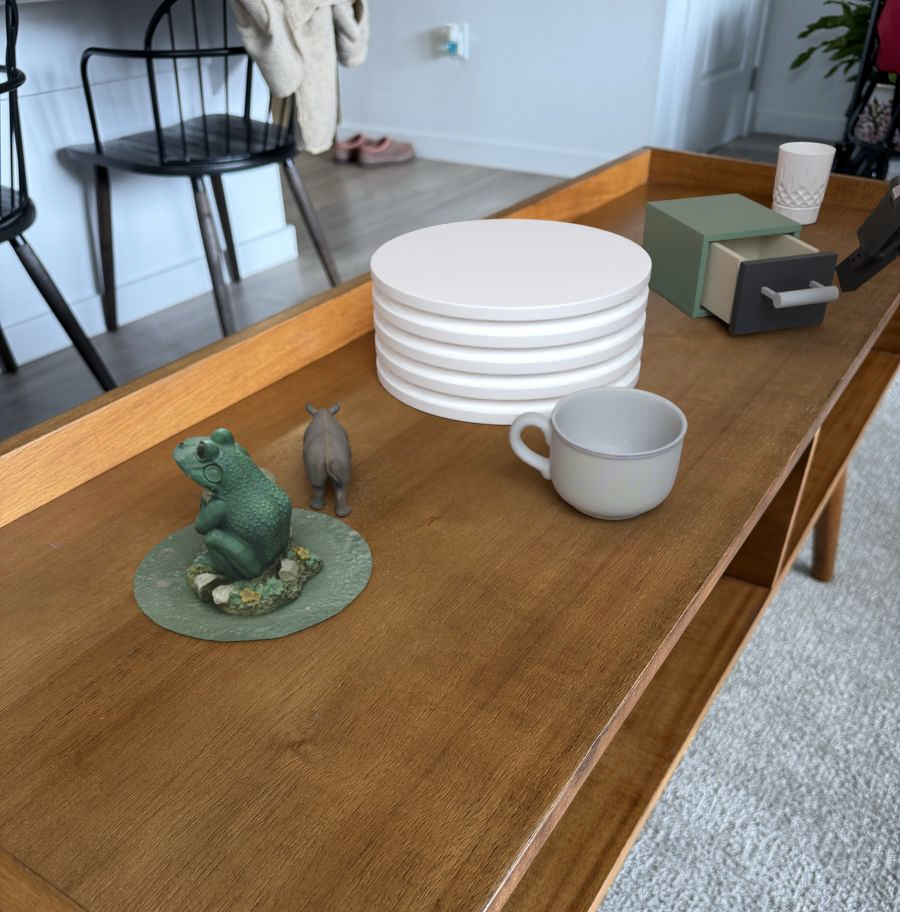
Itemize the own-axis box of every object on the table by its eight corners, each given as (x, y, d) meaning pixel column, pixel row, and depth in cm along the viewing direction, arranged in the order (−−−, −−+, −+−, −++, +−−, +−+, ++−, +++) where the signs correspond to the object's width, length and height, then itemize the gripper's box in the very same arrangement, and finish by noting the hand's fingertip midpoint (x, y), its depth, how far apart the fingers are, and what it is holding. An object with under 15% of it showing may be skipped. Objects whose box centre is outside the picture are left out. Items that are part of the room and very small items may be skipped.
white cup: (827, 226, 143) (843, 153, 137) (774, 226, 143) (787, 154, 137) (812, 211, 149) (826, 141, 143) (761, 212, 149) (773, 142, 143)
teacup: (683, 480, 83) (696, 395, 79) (663, 547, 75) (677, 455, 70) (528, 457, 87) (531, 374, 82) (493, 518, 79) (494, 429, 74)
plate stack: (434, 307, 118) (432, 209, 111) (662, 335, 110) (675, 231, 103) (331, 400, 97) (321, 287, 90) (604, 444, 89) (615, 323, 82)
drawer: (845, 337, 106) (863, 265, 102) (754, 349, 104) (767, 277, 99) (759, 285, 120) (771, 220, 115) (677, 295, 117) (685, 229, 113)
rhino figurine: (347, 440, 90) (342, 380, 87) (359, 517, 79) (353, 452, 76) (303, 444, 90) (296, 383, 86) (308, 521, 79) (301, 456, 75)
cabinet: (786, 306, 117) (802, 224, 111) (692, 318, 114) (704, 235, 108) (725, 269, 128) (737, 193, 122) (638, 279, 125) (646, 202, 119)
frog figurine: (221, 491, 83) (198, 364, 76) (410, 534, 77) (404, 401, 70) (82, 607, 70) (39, 466, 63) (297, 670, 64) (276, 522, 57)
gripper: (1083, 80, 75) (890, 238, 98) (943, 90, 72) (778, 250, 95) (1111, 167, 74) (910, 307, 97) (971, 181, 71) (797, 321, 94)
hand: (844, 279), depth 96 cm, fingers closed
